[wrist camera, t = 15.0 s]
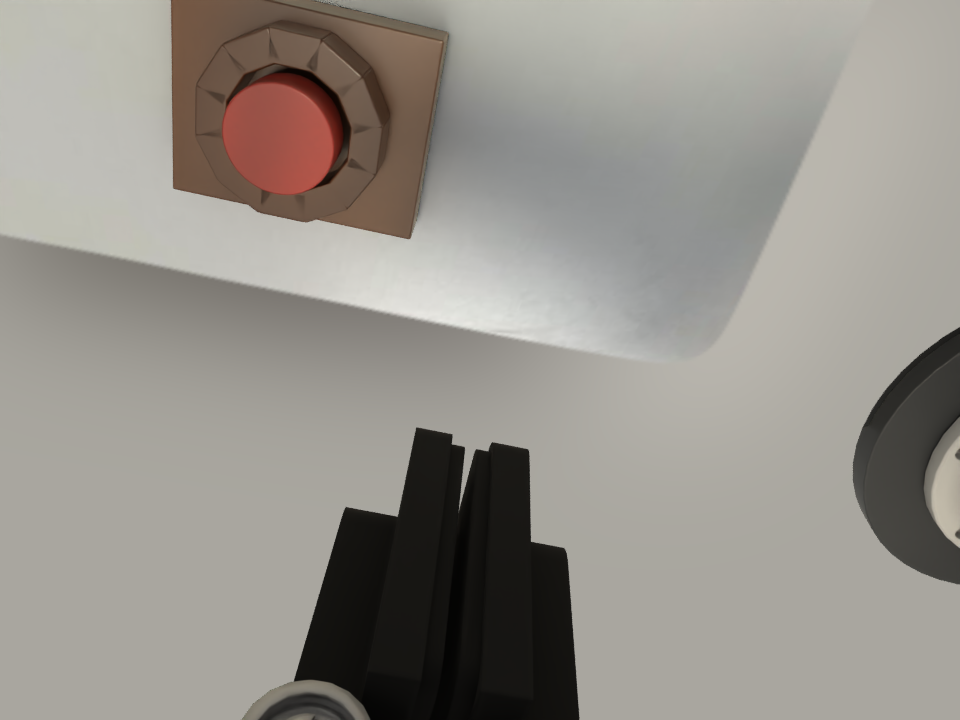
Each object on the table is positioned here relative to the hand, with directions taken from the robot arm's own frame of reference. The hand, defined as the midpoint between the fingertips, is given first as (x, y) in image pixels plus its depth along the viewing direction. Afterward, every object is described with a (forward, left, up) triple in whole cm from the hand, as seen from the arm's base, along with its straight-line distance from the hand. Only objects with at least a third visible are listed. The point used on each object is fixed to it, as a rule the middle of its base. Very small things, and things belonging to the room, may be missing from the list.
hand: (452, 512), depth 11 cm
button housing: (+3, +7, -23) cm, 24 cm away
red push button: (+3, +7, -20) cm, 21 cm away
